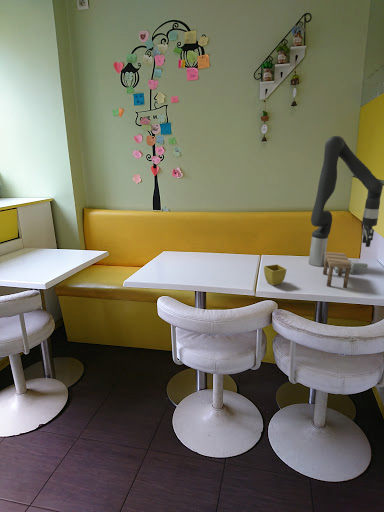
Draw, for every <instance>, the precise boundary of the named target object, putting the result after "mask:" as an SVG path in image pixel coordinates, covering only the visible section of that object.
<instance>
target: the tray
mask: <svg viewBox="0 0 384 512" xmlns="http://www.w3.org/2000/svg"><path fill="white" fill-rule="evenodd" d="M348 260H349V262H350V263H351V268H350V273H349V275H354V269H364V270H365V269H366V270H367V269H368V266H369V265H368V263H362V262H353V261H352V260H351V259H348ZM333 271H334V272H335V273H336V274H338V271H339V267H333ZM345 271H346V268H343V270H342V275H345Z"/></svg>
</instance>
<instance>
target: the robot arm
mask: <svg viewBox="0 0 384 512" xmlns="http://www.w3.org/2000/svg"><path fill="white" fill-rule="evenodd" d="M339 158H340V159H341V160H342V161H343V162H344V164H345V165H346V167H348V169H349V170H350V172H351V173H352V175H353V176H355V178H357V180H359V182H361V184H362V185H363V186H364V188H366V190H367V197H366V199H365V204H364V209H363V213H362V214H363V215H362V219H361V220H362V221H361V224H362V225H363V226H362V232H361V235H362V241H361V243H362V244H365V247H366V248H370V247H371V244H372V243H371V242H372V241H373V240H374V233H375V229H374V227H375V226H376V227H377V225H378V221H379V220H378V219H379V215H380V214H379V213H380V205H381V196H382V192H383V187H384V183H383V182H382V181H381V180H380V179H378V178H377V177H376V176H375V174H373V172H372V171H371V170H370V169H369V168H368V166H366V164H364V162H362V160H360V159H359V158H358V157H357V156H356V154H355V153H354V152H353V151H352V150H351V148H350V147H349V146H348V144H347V142H346V141H345V139H344V137H342V136H340V135H334V136H330V137H329V138H327V140H326V142H325V144H324V153H323V163H322V167H321V171H320V175H319V179H318V186H317V192H316V197H315V201H314V206H313V208H312V212H311V217H310V222H311V224H312V226H314V227H317V229H315V230H313V231H312V233H311V241H310V250H309V251H310V252H309V257H308V259H309V260H308V264H309V265H311V266H315V267H322V266H323V267H324V262H325V253H326V252H327V247H328V240H329V235H330V233H331V230H332V223H333V214H332V212H331V211H329V210H324V209H325V206H326V204H327V202H328V201H329V199H330V198H331V196H332V195H333V193H334V191H335V190H336V185H337V179H338V163H339V162H338V160H339Z"/></svg>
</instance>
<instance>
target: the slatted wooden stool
mask: <svg viewBox="0 0 384 512" xmlns="http://www.w3.org/2000/svg"><path fill="white" fill-rule="evenodd" d="M349 260H350V259H349V258H348V257H347V255H346V253H343V252H334V251H333V252H332V251H326V253H325V262H324V265H323V271H322V275H325V276H327V279H326V280H327V281H326V286H327V287H328V288H330V287H331V286H332V281H333V280H332V279H333V272H334V267H339V271H338V273H337V276H338V277H342V276H343V273H342V270H343V268H346V271H345V274H344V277H343V285H342V288H344V289H348V283H349V278H350V274H349V273H350V268H351V263H350V262H349Z"/></svg>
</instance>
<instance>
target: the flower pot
mask: <svg viewBox="0 0 384 512" xmlns="http://www.w3.org/2000/svg"><path fill="white" fill-rule="evenodd" d="M287 270H288V269H287V268H285V267H283V266H281V265H279V264H270V265H264V266H263V274H264V278H265V281H267V283H268V284H270V285H272V286H277V285H281V284H283V282H284V280H285V278H286V275H287Z"/></svg>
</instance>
